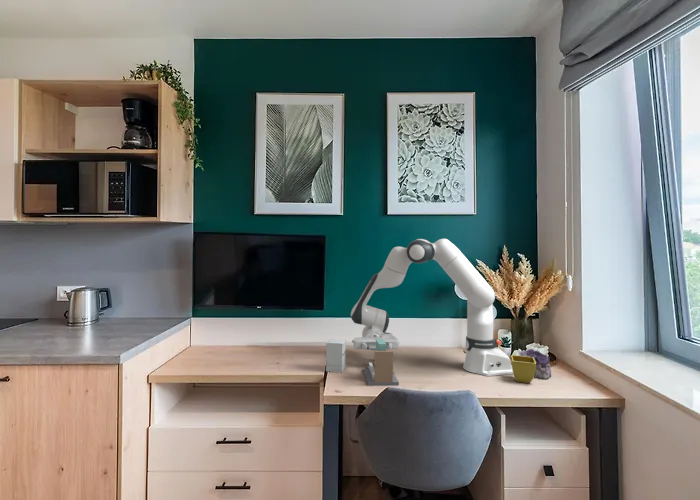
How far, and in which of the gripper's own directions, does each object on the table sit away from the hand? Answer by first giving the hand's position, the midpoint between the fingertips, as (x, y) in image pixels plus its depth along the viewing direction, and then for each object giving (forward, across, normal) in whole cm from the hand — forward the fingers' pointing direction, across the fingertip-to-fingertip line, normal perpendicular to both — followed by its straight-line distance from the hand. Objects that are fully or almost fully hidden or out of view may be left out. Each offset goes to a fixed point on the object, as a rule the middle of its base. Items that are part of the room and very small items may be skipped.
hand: (378, 347), depth 167 cm
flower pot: (+12, +58, +11) cm, 60 cm away
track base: (+6, 0, +11) cm, 12 cm away
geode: (+2, +70, +11) cm, 71 cm away
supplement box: (-5, -18, +11) cm, 22 cm away
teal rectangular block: (+7, 0, +10) cm, 12 cm away
